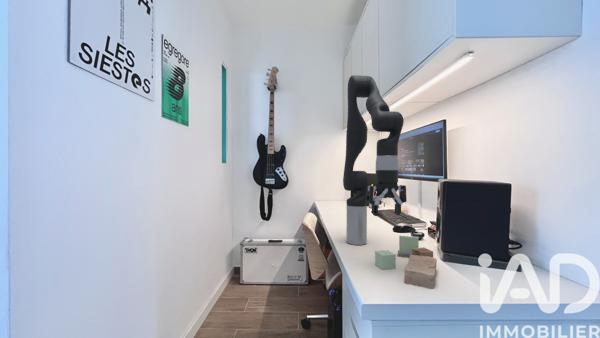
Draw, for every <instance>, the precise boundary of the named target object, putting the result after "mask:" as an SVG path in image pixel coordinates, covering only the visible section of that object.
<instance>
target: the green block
mask: <svg viewBox="0 0 600 338" xmlns="http://www.w3.org/2000/svg"><path fill="white" fill-rule="evenodd" d="M396 257H397V255H396V253H394V252H392V251H391V250H389V249H385V250H375V251H374V265H375V266H377V268H379V269H380V270H382V271H385V270H396V269H397V268H396V264H397V263H396V260H397V258H396Z"/></svg>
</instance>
